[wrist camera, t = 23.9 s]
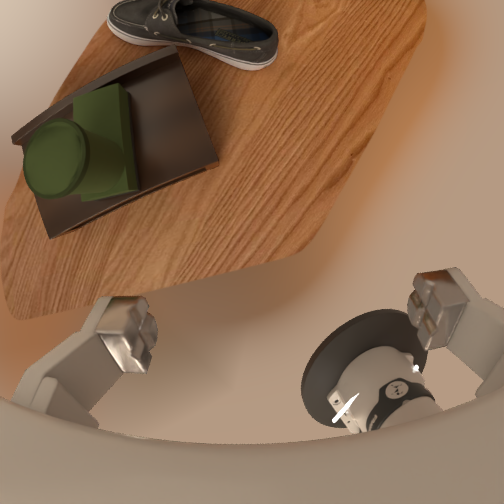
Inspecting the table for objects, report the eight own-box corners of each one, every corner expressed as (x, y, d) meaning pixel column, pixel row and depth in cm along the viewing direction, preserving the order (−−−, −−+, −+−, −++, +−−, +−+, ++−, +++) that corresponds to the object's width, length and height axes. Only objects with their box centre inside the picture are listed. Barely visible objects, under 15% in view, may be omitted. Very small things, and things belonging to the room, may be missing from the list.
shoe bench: (219, 166, 36) (218, 158, 27) (74, 231, 35) (41, 243, 27) (183, 73, 33) (174, 43, 24) (46, 143, 32) (11, 136, 23)
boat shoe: (101, 36, 29) (80, 11, 21) (134, -5, 28) (121, -35, 20) (255, 92, 34) (265, 68, 26) (284, 45, 33) (299, 16, 25)
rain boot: (141, 190, 29) (91, 193, 16) (95, 201, 28) (27, 211, 16) (131, 92, 26) (84, 43, 14) (86, 106, 26) (24, 71, 13)
